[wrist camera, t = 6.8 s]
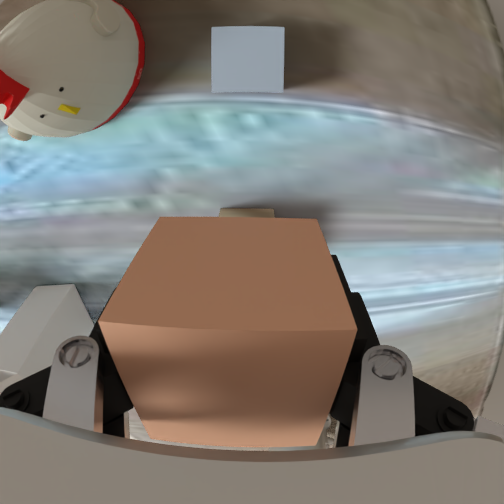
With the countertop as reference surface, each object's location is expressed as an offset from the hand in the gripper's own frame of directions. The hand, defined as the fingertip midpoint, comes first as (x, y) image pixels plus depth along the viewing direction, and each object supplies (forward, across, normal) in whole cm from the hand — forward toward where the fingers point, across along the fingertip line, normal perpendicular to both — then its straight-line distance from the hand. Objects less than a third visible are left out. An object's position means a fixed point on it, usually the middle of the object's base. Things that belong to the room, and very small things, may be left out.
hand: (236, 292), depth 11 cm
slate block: (+20, 0, -9) cm, 21 cm away
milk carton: (+20, +25, +18) cm, 37 cm away
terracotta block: (+1, 0, 0) cm, 1 cm away
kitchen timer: (+20, +16, -10) cm, 27 cm away
